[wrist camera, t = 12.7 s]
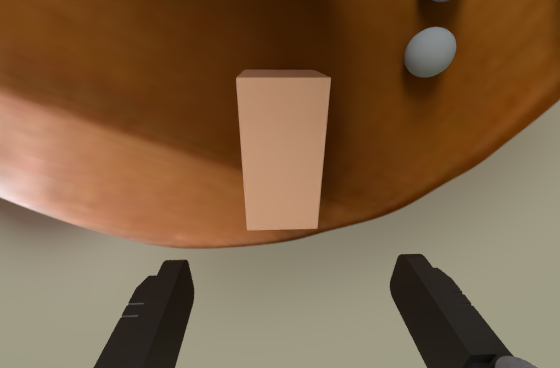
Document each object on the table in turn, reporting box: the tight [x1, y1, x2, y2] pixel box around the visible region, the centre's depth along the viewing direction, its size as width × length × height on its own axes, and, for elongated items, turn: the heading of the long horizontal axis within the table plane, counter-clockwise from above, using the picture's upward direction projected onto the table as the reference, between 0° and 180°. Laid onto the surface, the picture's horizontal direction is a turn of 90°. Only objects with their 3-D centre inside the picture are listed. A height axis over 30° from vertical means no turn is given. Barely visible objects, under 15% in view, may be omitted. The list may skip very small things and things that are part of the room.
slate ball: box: [404, 27, 456, 77], centre depth 20 cm, size 4×4×4 cm
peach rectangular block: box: [236, 70, 331, 230], centre depth 22 cm, size 12×6×7 cm, turn 0°
